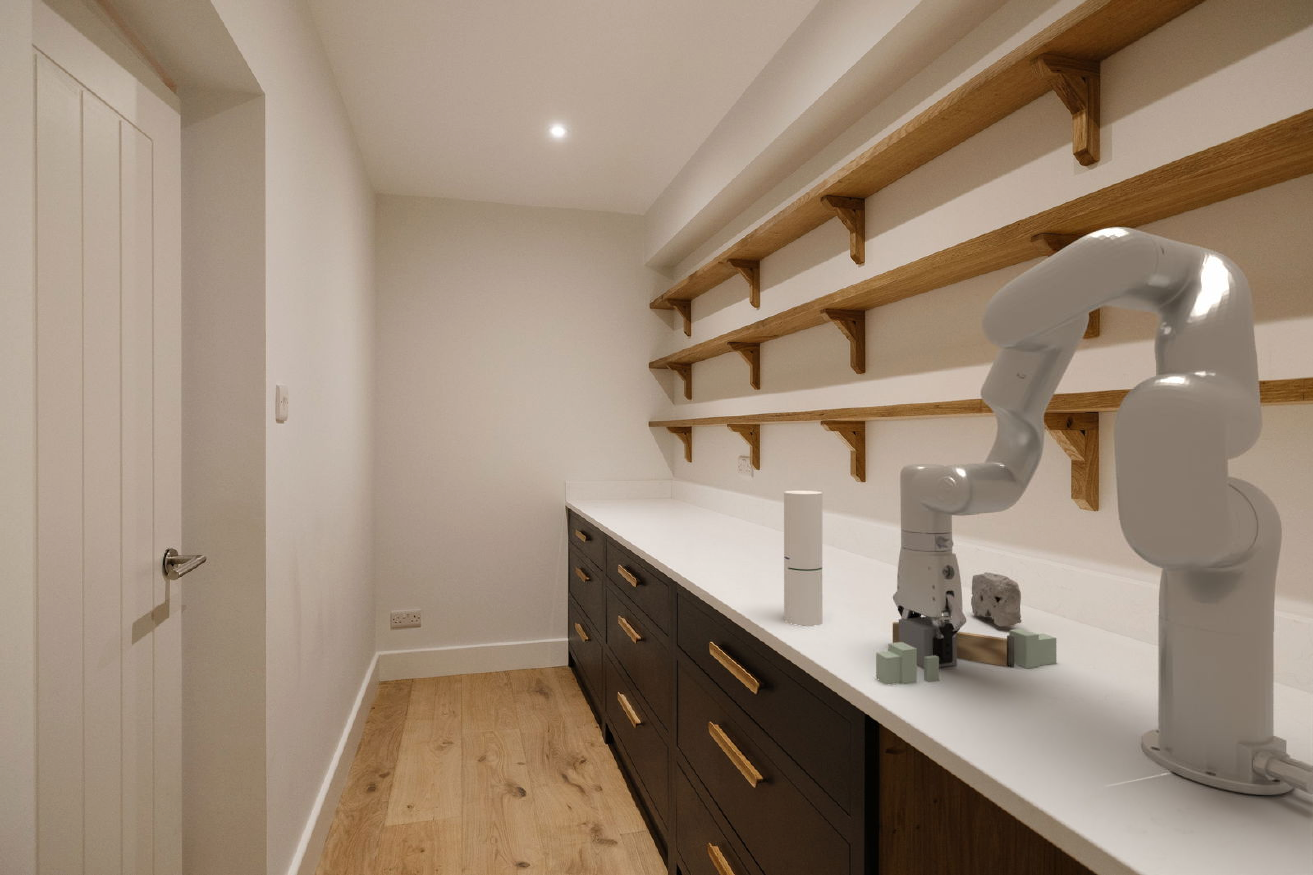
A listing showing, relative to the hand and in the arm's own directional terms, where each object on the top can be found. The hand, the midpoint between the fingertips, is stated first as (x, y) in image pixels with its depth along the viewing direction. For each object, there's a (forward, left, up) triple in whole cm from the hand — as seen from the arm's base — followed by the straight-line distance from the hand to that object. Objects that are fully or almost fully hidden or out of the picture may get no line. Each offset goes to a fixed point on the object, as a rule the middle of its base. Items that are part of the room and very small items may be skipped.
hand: (927, 655), depth 102 cm
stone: (+12, -26, -1) cm, 29 cm away
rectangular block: (0, 0, -1) cm, 1 cm away
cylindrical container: (+25, +8, -1) cm, 26 cm away
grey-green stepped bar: (-5, -11, -1) cm, 12 cm away
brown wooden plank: (-5, -11, -1) cm, 12 cm away
